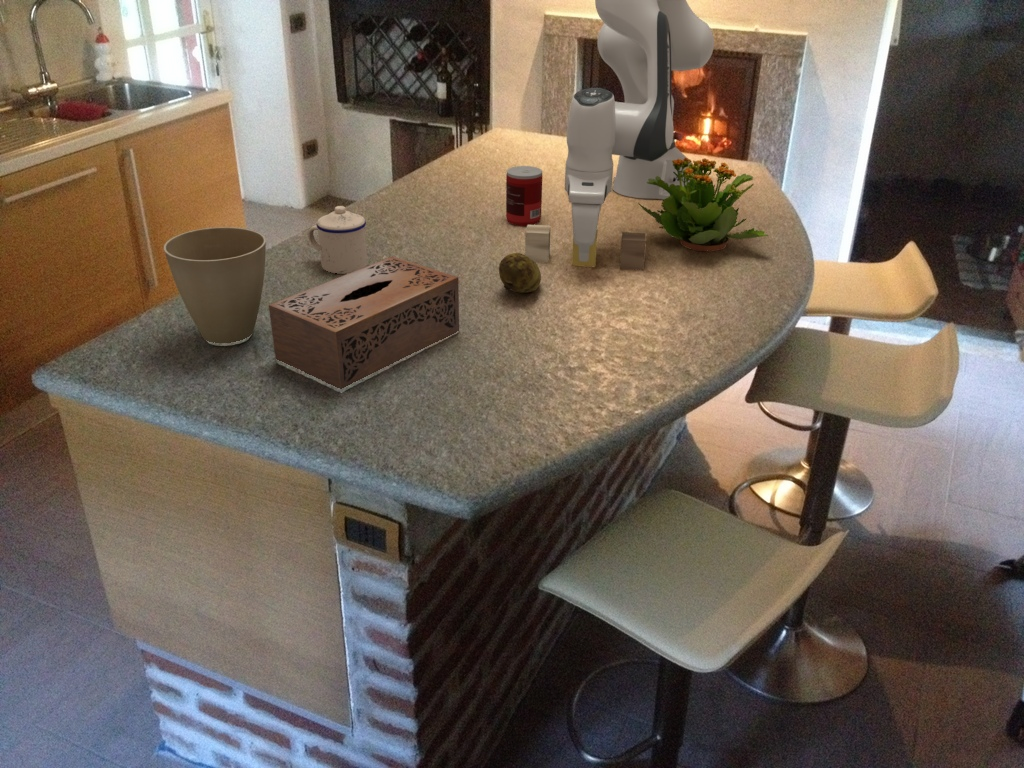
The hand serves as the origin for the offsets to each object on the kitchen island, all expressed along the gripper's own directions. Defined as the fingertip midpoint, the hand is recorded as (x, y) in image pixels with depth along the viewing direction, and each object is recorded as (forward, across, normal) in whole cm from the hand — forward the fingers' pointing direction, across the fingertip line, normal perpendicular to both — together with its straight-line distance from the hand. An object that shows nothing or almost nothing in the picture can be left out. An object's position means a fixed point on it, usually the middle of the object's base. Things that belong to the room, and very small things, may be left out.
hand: (584, 251), depth 173 cm
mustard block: (+2, 0, 0) cm, 2 cm away
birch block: (+2, -1, -9) cm, 9 cm away
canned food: (+2, -23, -14) cm, 27 cm away
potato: (+2, +16, -11) cm, 20 cm away
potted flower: (+2, -13, +24) cm, 27 cm away
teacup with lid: (+2, +8, -47) cm, 48 cm away
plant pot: (+2, +41, -55) cm, 69 cm away
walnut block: (+2, +1, +9) cm, 9 cm away
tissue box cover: (+3, +42, -32) cm, 53 cm away
